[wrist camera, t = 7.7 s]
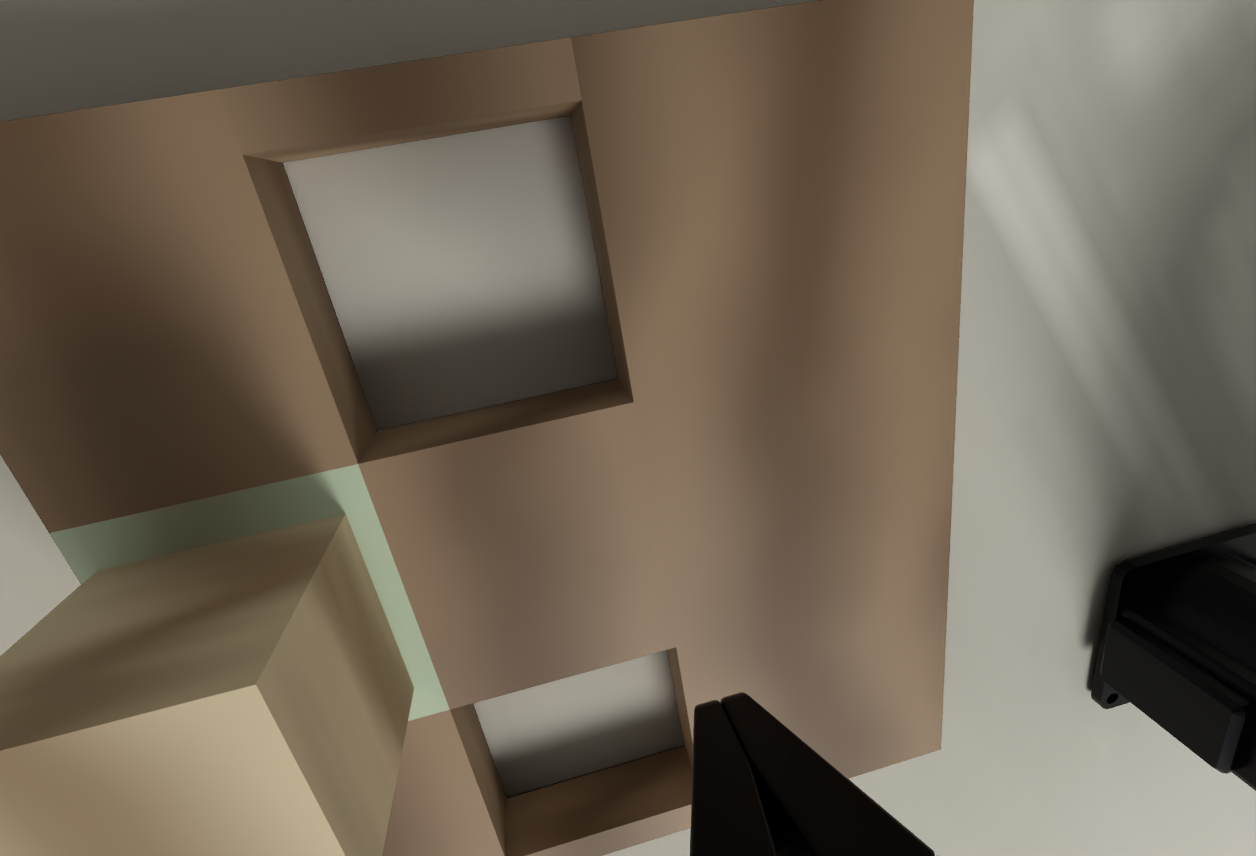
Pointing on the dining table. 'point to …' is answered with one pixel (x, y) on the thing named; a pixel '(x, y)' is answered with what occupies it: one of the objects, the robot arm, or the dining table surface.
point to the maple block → (208, 707)
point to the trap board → (552, 423)
